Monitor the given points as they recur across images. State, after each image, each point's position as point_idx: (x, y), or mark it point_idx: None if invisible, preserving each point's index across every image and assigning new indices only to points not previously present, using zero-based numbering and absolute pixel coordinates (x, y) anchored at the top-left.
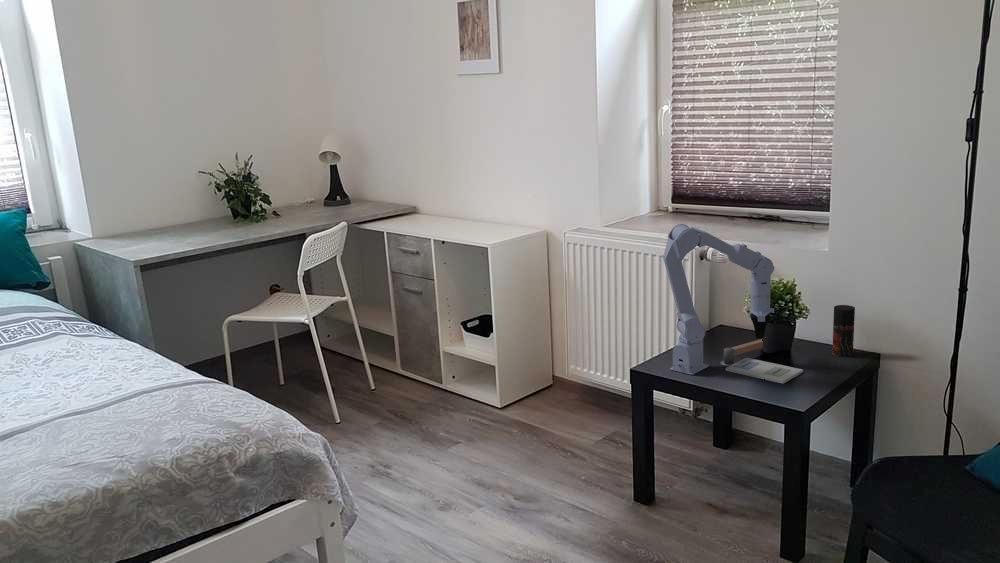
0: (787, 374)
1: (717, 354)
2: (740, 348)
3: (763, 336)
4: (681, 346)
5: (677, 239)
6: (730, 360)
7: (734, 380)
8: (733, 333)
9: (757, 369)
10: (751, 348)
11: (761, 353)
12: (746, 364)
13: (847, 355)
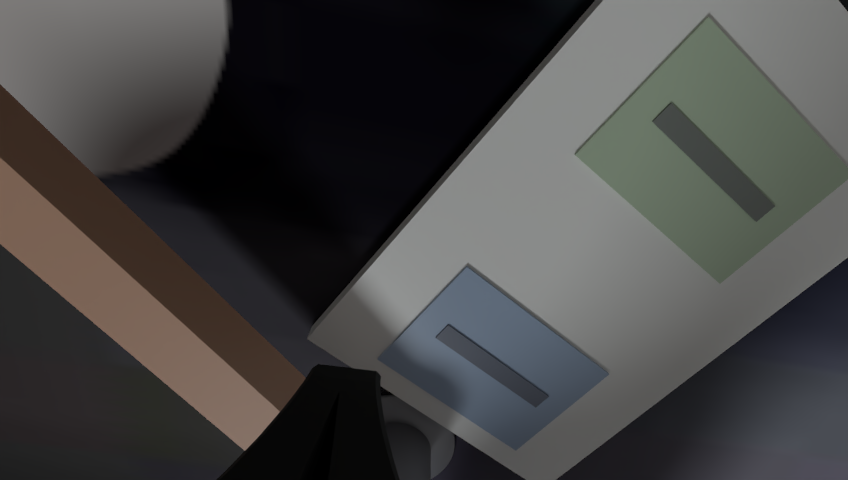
0: (818, 84)
1: (197, 474)
2: None
3: (380, 391)
4: None
5: None
6: (430, 465)
7: (738, 454)
8: None
9: (614, 308)
10: (241, 337)
11: (118, 181)
12: (495, 368)
13: None
